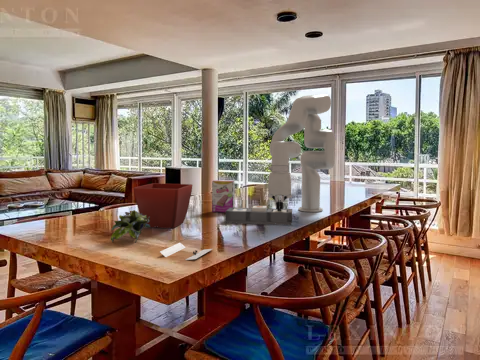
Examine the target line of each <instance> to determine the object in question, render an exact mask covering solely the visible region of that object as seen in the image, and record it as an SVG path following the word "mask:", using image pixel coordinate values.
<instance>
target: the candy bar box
mask: <svg viewBox="0 0 480 360" xmlns="http://www.w3.org/2000/svg"><path fill="white" fill-rule="evenodd" d="M211 181H212V182H211V183H212V184H211V188H212V189H211V193H212V194H211V198H212V199H211V204H212V205H211V212H212V213H226V211H227V210H228V209H229V208H230V207H232V208H235V180H232V179H230V180H229V179H228V180H227V179H226V180H225V179H212V180H211Z"/></svg>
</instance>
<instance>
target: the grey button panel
mask: <svg viewBox="0 0 480 360" xmlns="http://www.w3.org/2000/svg"><path fill="white" fill-rule="evenodd" d="M233 209H247V211H232V210H233ZM273 210H278V209H276V208H271V207H270V208H268V207H267V212H261V211H252V207H234V208H232V207H230V208H229V209H228V210H227V211H226V212H225V220H224V224H240V225H268V226H269V225H273V226H293V208H283V209H281V210H287V212H273ZM279 210H280V208H279Z"/></svg>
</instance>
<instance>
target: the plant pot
mask: <svg viewBox="0 0 480 360" xmlns="http://www.w3.org/2000/svg"><path fill="white" fill-rule="evenodd" d="M192 192H193V184H190V183H188V184H186V183H154V182H153V183H148V184H144V185H139V186H135V187H133V193H134V198H135V201H136V205H137V209H138V213H140V214H141V213H142V215H147V218H148V217H149V216H150V219H149V220H150V221H149V222H148V223H147V224H149V225H150V227H149V228H156V227H157V228H159V229H175V228H176V227H178V226H180V225H182V224H183V223H185V219H186V216H187V213H188V210H189V206H190V202H191V197H192ZM144 219H145V218H144ZM146 220H147V219H146Z"/></svg>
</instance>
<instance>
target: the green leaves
mask: <svg viewBox="0 0 480 360" xmlns="http://www.w3.org/2000/svg"><path fill="white" fill-rule="evenodd" d="M118 218H119V219H120V220H114V223H115V224H113V225H112V227H111V231H114V232H113V233H112V234H111V236H110V239H109V240H110V241H111V242H112V243H114V241H115V240H119V239H120V238H122V237H123V236H125V235H127V234H129V236H130V237H131V238H133V239H135V242H134V243H135V244H136V243H137V240H138V239H139V236H140V235H141V234H142V230H143V229H144V228H151V227H150V225H149V224H147V223H148V222H149V221H150V220H149V219H150V216H149V217H148V218H147V215H142V213H141V214H140V212H139V211H136V210H135V209H133V210H130V211H129V212H128V211H124V214H123V215H121V214H119V215H118ZM144 218H145V219H144ZM146 219H147V220H146ZM116 228H117V229H116ZM115 229H116V230H115Z"/></svg>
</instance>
